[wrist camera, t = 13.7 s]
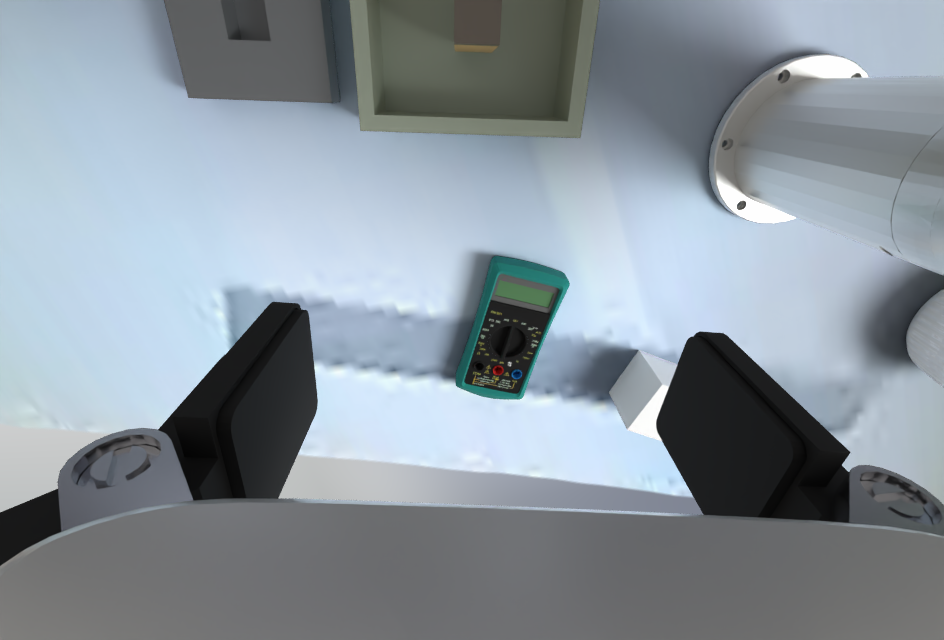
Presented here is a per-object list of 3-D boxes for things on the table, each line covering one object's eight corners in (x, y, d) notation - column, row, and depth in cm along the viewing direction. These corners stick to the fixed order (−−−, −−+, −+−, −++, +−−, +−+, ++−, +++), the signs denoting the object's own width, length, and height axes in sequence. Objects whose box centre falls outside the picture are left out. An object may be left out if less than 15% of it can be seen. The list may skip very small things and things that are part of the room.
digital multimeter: (453, 377, 46) (453, 395, 44) (492, 250, 40) (495, 262, 37) (517, 390, 48) (521, 408, 45) (566, 269, 41) (574, 281, 38)
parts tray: (594, -128, 27) (624, -174, 22) (563, 130, 34) (580, 137, 30) (355, -141, 27) (333, -192, 22) (374, 124, 34) (360, 130, 29)
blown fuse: (492, -32, 29) (505, -76, 21) (489, 55, 31) (499, 44, 23) (455, -34, 29) (454, -79, 21) (455, 53, 31) (453, 43, 23)
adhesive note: (685, 366, 46) (714, 403, 41) (653, 407, 49) (677, 446, 43) (638, 349, 45) (662, 384, 40) (608, 391, 47) (627, 430, 42)
